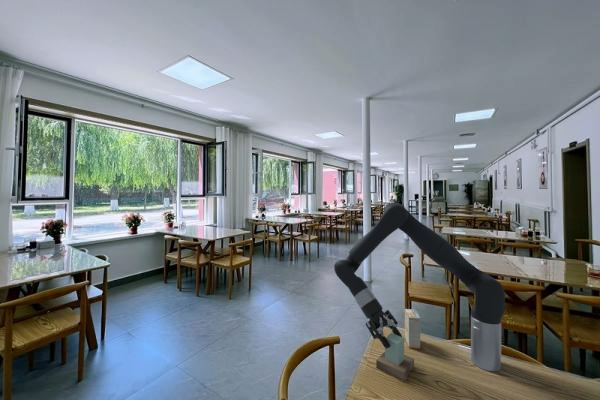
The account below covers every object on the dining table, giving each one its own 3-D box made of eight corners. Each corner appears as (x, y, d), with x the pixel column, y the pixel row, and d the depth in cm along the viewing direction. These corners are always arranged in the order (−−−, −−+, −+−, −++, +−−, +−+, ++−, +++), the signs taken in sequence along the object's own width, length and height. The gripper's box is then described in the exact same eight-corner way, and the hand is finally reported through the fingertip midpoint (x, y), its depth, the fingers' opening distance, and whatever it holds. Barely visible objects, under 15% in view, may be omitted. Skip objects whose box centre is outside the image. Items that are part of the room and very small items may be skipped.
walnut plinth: (388, 355, 102) (388, 347, 102) (414, 366, 95) (414, 358, 95) (376, 367, 94) (376, 359, 94) (403, 381, 88) (403, 372, 87)
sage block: (391, 353, 98) (391, 332, 98) (404, 359, 95) (404, 338, 94) (385, 359, 95) (385, 338, 94) (398, 365, 91) (398, 343, 91)
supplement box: (421, 349, 105) (421, 318, 105) (408, 348, 106) (408, 317, 106) (416, 338, 113) (416, 309, 113) (404, 337, 114) (404, 308, 114)
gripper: (363, 303, 96) (391, 346, 88) (383, 293, 105) (410, 331, 97) (351, 312, 100) (377, 354, 92) (372, 302, 110) (397, 339, 101)
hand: (394, 342), depth 95 cm, fingers open, 8 cm apart
